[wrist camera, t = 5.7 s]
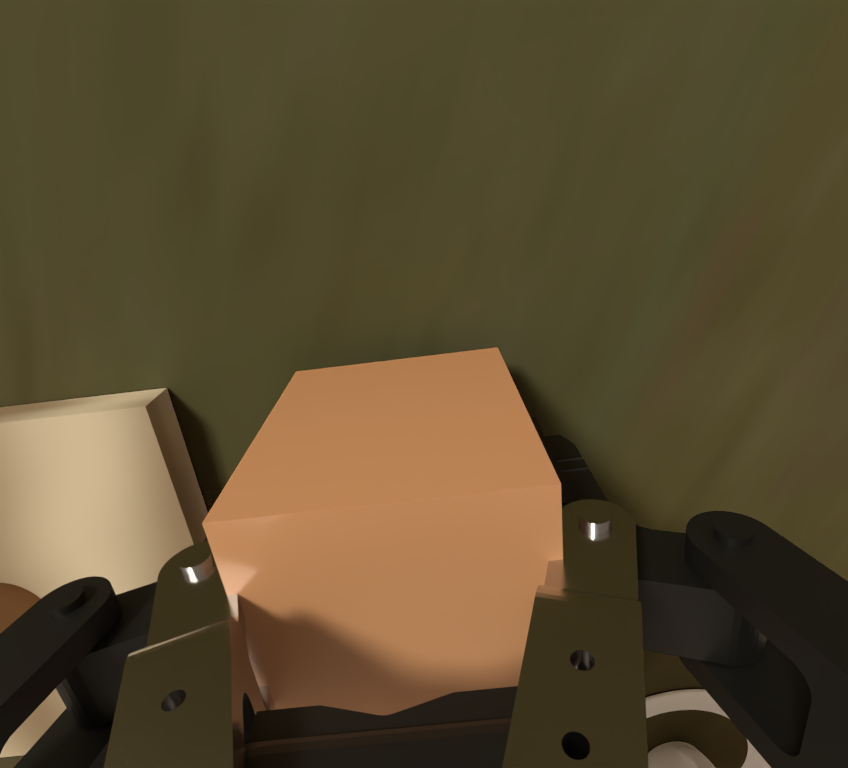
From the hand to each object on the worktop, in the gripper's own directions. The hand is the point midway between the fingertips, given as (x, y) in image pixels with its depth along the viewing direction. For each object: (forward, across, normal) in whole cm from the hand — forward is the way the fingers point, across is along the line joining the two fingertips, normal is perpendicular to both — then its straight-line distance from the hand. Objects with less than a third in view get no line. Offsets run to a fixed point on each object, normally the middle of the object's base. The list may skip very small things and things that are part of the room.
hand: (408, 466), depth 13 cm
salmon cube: (+1, 0, 0) cm, 1 cm away
